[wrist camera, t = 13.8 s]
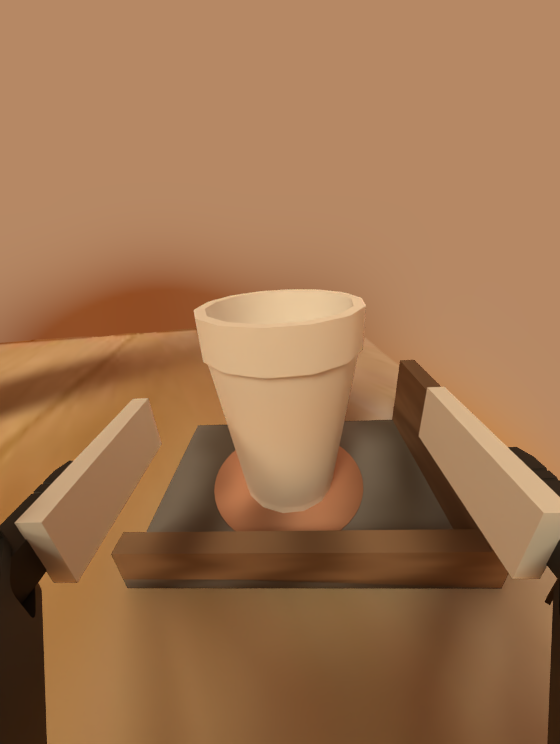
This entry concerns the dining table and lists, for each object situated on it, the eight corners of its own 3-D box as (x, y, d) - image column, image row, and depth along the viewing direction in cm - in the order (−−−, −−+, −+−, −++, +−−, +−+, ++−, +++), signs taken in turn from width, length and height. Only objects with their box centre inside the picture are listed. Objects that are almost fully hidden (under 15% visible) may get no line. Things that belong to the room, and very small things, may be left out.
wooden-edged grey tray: (127, 588, 16) (84, 498, 13) (199, 432, 29) (185, 369, 26) (501, 588, 15) (546, 491, 12) (404, 426, 28) (414, 360, 25)
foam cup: (312, 565, 16) (309, 340, 10) (198, 494, 21) (155, 315, 15) (370, 460, 23) (387, 293, 17) (275, 426, 28) (264, 286, 22)
